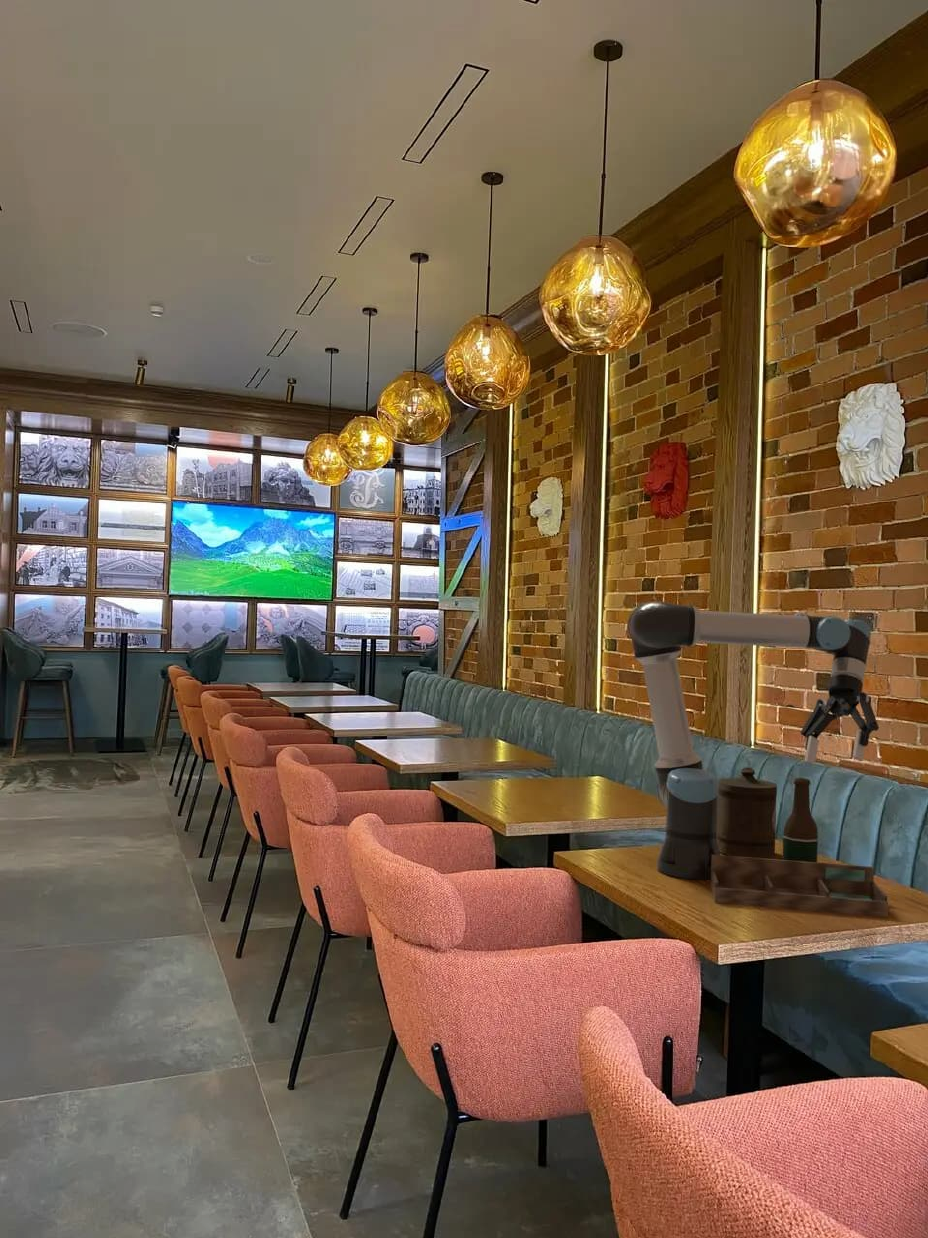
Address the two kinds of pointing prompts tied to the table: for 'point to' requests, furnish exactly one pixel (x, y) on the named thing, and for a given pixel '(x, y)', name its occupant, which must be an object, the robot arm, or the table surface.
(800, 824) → the beer bottle
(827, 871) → the condiment rack
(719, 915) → the table surface
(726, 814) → the wooden container
